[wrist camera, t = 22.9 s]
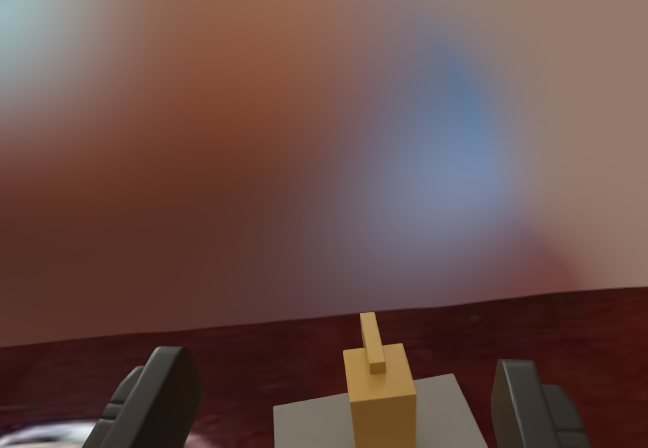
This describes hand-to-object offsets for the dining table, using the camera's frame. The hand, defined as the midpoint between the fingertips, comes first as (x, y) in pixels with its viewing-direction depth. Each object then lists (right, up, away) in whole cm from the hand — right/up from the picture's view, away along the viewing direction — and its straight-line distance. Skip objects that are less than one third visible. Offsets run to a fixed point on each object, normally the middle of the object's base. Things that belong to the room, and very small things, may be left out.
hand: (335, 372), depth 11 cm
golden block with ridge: (+4, -13, +22) cm, 26 cm away
